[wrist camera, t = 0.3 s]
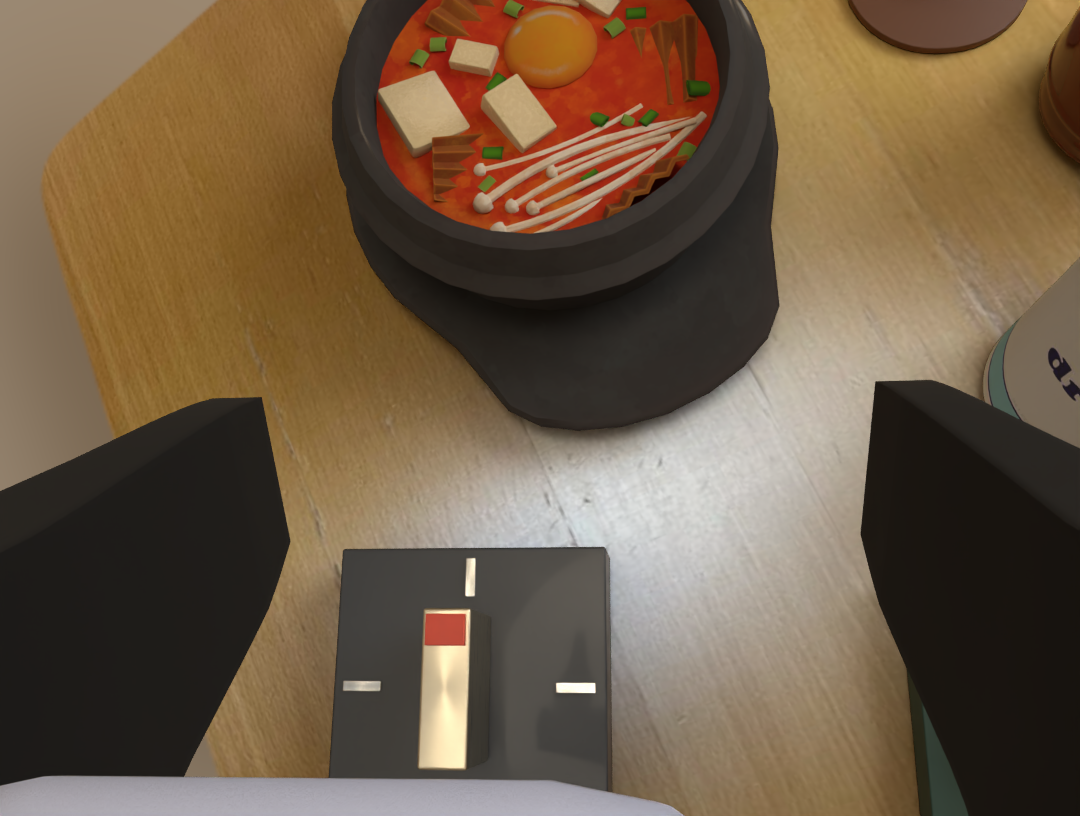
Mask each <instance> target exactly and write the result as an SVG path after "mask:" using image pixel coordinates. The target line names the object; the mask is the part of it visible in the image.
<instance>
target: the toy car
mask: <svg viewBox="0 0 1080 816" xmlns="http://www.w3.org/2000/svg"><path fill="white" fill-rule="evenodd" d="M848 1H849V3H850V6H851V8H852V10H853V11H854V13H855V15H856V16H857V18H858V19H859V20H860V21H861V23H862V24H863V25H864V26H865V27H866V28H867V29H868V30H869V31H870V32H872V33H873V34H875V35H876V36H877V37H879V38H880V39H882V40H884V41H886V42H888V43H889V44H892V45H894V46H897V47H899V48H902V49H906V50H910V51H915V52H921V53H934V54H936V53H951V52H957V51H964V50H968V49H971V48H975V47H977V46H980V45H982V44H985V43H987V42H989V41H991V40H992V39H994V38H996V37H997V36H999V35H1000V34H1001V33H1003V32H1004V31H1005V30H1006V29H1008V28H1009V27H1010V26H1011V25H1012V24H1013V23H1014V21H1015V20H1016V19H1017V17H1018V16H1019V15H1020V13H1021V11H1022V9H1023V8H1024V6H1025V4H1026V2H1027V0H848Z"/></svg>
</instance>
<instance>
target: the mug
mask: <svg viewBox="0 0 1080 816" xmlns="http://www.w3.org/2000/svg"><path fill="white" fill-rule="evenodd" d="M1039 108H1040V114H1041V118H1042V121H1043V123H1044V126H1045V128H1046V130H1047V132H1048V134H1049V135H1050V137H1051V138H1052V140H1053V141H1054V142H1055V143H1056V145H1057V146H1058V147H1059V148H1060V149H1061V150H1062V151H1063V152H1064V153H1065V154H1067V155H1068V156H1069V157H1070V158H1072V159H1073V160H1075V161H1076V162H1078V163H1079V164H1080V7H1079V8H1078V10H1077V11H1076V13H1075V15H1074V16H1073V18H1072V19H1071V21H1070V22H1069V24H1068V26H1067V27H1066V28H1065V29H1064V31H1063V32H1062V33H1061V34H1060V36H1059V37H1058V39H1057V41H1056V42H1055V44H1054V46H1053V48H1052V51H1051V54H1050V57H1049V61H1048V64H1047V68H1046V71H1045V74H1044V76H1043V79H1042V82H1041V86H1040V91H1039Z"/></svg>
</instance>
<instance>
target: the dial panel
mask: <svg viewBox="0 0 1080 816" xmlns="http://www.w3.org/2000/svg"><path fill="white" fill-rule="evenodd" d="M425 608H470V609H473V610H475V611H478V612H480V613H483V614H485V615H488V616H490V617H491V640H490V687H489V733H488V760H487V761H485V762H483V763H480V764H478V765H476V766H474V767H471V768H469V769H467V770H465V771H458V770H419V769H418V767H417V761H418V736H419V711H420V686H421V661H422V636H423V611H424V609H425ZM329 778H372V779H482V780H553V781H558V782H563V783H568V784H573V785H578V786H583V787H587V788H592V789H597V790H602V791H607V792H612V716H611V627H610V558H609V556H608V553H607V551H606V549H605V547H551V548H422V549H344V550H343V559H342V575H341V591H340V607H339V623H338V639H337V655H336V671H335V686H334V702H333V718H332V734H331V750H330V766H329Z"/></svg>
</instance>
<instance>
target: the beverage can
mask: <svg viewBox="0 0 1080 816" xmlns="http://www.w3.org/2000/svg"><path fill="white" fill-rule="evenodd" d="M983 394H984V400H985V403H988V404H990V405H992V406H994V407H996V408H998V409H1000V410H1002V411H1004V412H1006V413H1008V414H1010V415H1012V416H1014V417H1016V418H1018V419H1020V420H1022V421H1024V422H1026V423H1028V424H1030V425H1032V426H1034V427H1036V428H1038V429H1040V430H1042V431H1045V432H1047V433H1049V434H1051V435H1053V436H1055V437H1057V438H1059V439H1061V440H1063V441H1065V442H1068V443H1070V444H1072V445H1074V446H1076V447H1078V448H1080V258H1079V259H1078V260H1077V261H1076V262H1075V263H1074V264H1073V265H1072V266H1071V267H1070V268H1069V269H1068V270H1067V271H1066V272H1065V273H1064V274H1063V275H1062V276H1061V277H1060V278H1059V279H1058V280H1057V281H1056V282H1055V283H1054V284H1053V285H1052V286H1051V287H1050V288H1049V289H1048V290H1047V291H1046V292H1045V293H1044V294H1043V295H1042V296H1041V297H1040V298H1039V299H1038V300H1037V301H1036V302H1035V303H1034V304H1033V305H1032V306H1031V307H1030V308H1029V309H1028V310H1027V311H1026V312H1025V313H1024V314H1023V315H1022V316H1021V317H1020V318H1019V319H1018V320H1017V321H1016V322H1015V323H1014V324H1013V325H1012V326H1011V327H1010V328H1009V330H1008V331H1007V332H1006V333H1005V334H1004V335H1003V336H1002V337H1001V338H1000V339H999V340H998V342H997V343H996V345H995V346H994V348H993V349H992V351H991V353H990V355H989V358H988V360H987V363H986V367H985V371H984V378H983Z"/></svg>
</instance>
